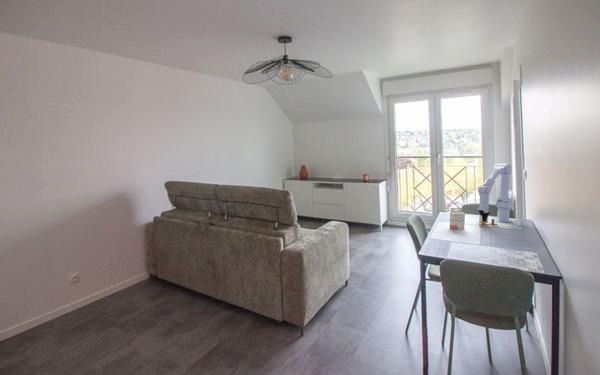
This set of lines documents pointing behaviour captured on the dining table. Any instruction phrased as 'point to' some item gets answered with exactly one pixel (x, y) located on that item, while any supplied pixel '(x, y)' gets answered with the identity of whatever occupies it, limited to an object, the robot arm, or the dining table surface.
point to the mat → (503, 224)
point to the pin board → (488, 224)
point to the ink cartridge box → (457, 218)
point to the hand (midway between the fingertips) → (483, 220)
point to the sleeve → (482, 220)
